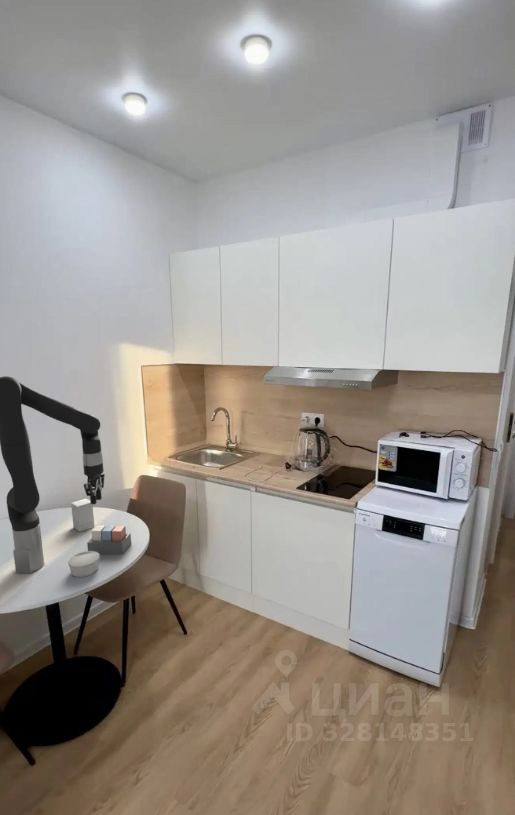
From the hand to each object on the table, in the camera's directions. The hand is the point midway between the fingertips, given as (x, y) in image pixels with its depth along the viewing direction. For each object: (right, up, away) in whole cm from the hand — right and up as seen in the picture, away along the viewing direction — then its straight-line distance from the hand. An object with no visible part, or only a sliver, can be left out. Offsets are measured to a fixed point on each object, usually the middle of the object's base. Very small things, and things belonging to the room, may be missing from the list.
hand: (96, 501), depth 164 cm
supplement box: (-16, -18, +23) cm, 33 cm away
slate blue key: (+5, -17, +2) cm, 18 cm away
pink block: (+9, -17, +2) cm, 19 cm away
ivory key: (0, -17, +3) cm, 17 cm away
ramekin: (+1, -24, -13) cm, 27 cm away
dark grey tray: (+5, -21, +3) cm, 22 cm away
